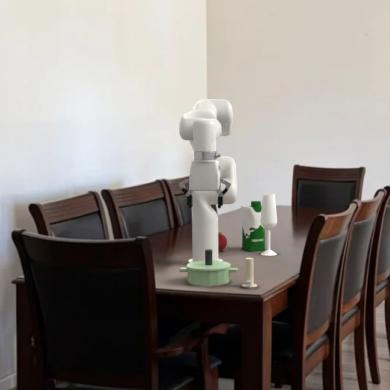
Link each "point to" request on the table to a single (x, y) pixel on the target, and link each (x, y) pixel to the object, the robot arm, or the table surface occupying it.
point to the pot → (208, 276)
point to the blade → (249, 273)
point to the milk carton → (252, 227)
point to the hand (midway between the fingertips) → (205, 207)
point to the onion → (221, 241)
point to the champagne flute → (268, 218)
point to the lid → (208, 263)
